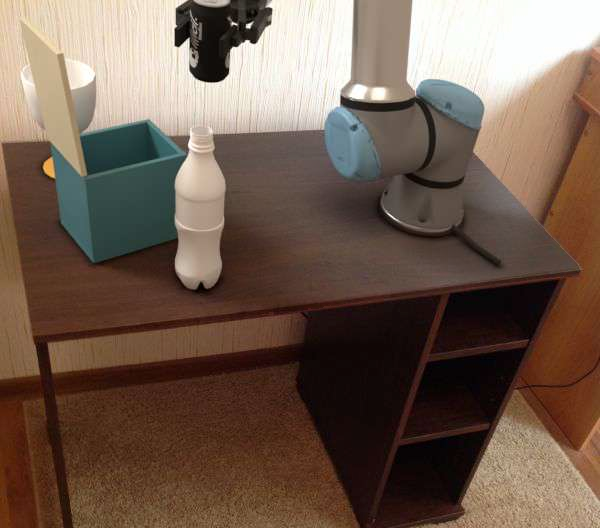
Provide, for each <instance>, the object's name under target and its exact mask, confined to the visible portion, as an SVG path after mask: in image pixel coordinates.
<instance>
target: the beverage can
mask: <svg viewBox="0 0 600 528" xmlns="http://www.w3.org/2000/svg"><path fill="white" fill-rule="evenodd" d="M232 25H233V22H232V8H231V6H230V0H193V1H192V3H191V4H190V28H189V38H188V40H189V42H188V45H189V46H188V56H189V57H188V71H189V72H190V74H191V75H192V77H193V78H194V79H195V80H197V81H200V82H203V83H208V84H215V83H221V82H223V81H224V80H226V78H227V77H228V76H229V75H230V65H231V50H230V51H229V52H228V53H227V54H226V56H225V57H224V58H220V57H219V39H220V38H221V37H222V36H223V35H224V34H225V33H226V31H227V30H228V29H229V28H231V26H232Z"/></svg>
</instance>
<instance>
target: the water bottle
mask: <svg viewBox="0 0 600 528" xmlns="http://www.w3.org/2000/svg"><path fill="white" fill-rule="evenodd" d="M189 134H190V135H189V136H190V138H189V139H188V144H187V148H188V149H189V150H188V154H187V158H186V160H185V161H184V163H183V165H182V166H181V168H180V170H179V171H178V174H177V176H176V179H175V191H176V213H175V226H176V228H177V232H178V238H177V239H178V243H177V250H176V253H175V258H174V269H175V274H176V275H177V277H178V279H180V282H181V283H182V284H183V286H184V287H185V288H187V289H189V290H197V289H198V287H199V285H200V283H202V285H203V288H205V289H206V290H209V289H211V288H212V287H214V286H215V285H216V284H217V282H218V280H219V278H220V276H221V273H222V268H223V260H222V258H221V249H220V247H221V246H220V245H221V237H222V233H223V230H224V226H225V216H224V215H225V197H226V196H225V195H226V191H227V185H226V179H225V177H224V174H223V172H222V170H221V168H220V166H219V164H218V162H217V161H216V158H215V156H214V150H215V148H216V146H215V144H214V130H213V129H212V127H210V126H207V125H204V124H197V125H194V126H192V127H191V128H190V130H189Z"/></svg>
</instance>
